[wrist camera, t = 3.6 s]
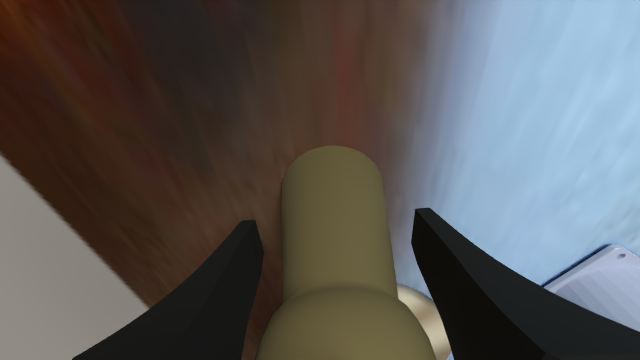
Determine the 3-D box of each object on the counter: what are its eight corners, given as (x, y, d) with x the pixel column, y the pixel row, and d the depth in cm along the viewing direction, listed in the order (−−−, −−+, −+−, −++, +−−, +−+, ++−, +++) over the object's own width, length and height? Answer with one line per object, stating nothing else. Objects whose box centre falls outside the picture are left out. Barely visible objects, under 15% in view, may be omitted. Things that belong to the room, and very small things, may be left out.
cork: (327, 244, 18) (334, 494, 9) (259, 188, 16) (166, 448, 6) (403, 195, 16) (525, 454, 6) (338, 122, 13) (381, 362, 4)
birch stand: (483, 317, 22) (493, 336, 21) (376, 387, 29) (379, 405, 28) (329, 254, 18) (330, 273, 17) (248, 351, 25) (244, 370, 24)
